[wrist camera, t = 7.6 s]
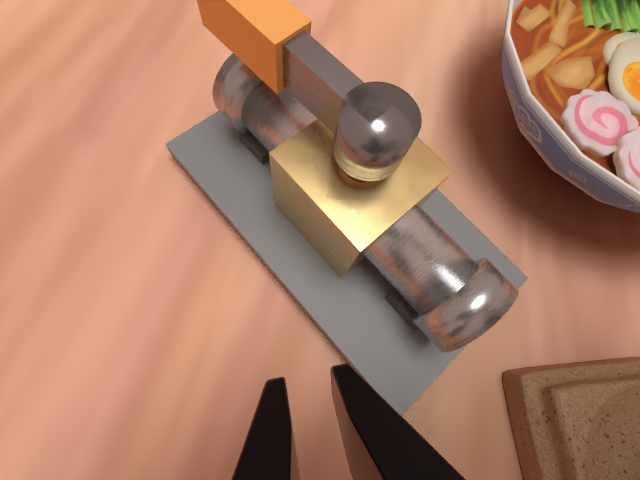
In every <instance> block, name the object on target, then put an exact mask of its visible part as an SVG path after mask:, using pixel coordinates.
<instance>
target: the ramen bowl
mask: <svg viewBox="0 0 640 480" xmlns="http://www.w3.org/2000/svg"><path fill="white" fill-rule="evenodd" d="M502 76H503V80H504V84H505V88H506V91H507V94H508V97H509V100H510V103H511V106H512V109H513V113H514V116H515V119H516V122H517V125H518V128H519V131H520V132H521V133H522V134H523V135H524V137H525V138H526V139H527V140H528V142H529V143H530V144H531V145H532V146H533V148H534V149H535V150H536V151H537V153H538V154H539V155H540V156H541V158H542V159H543V160H544V161H545V162H546V164H547V165H548V166H549V167H550V169H551V170H553V171H554V172H556V173H557V174H559V175H560V176H561V177H563V178H564V179H566V180H567V181H569V182H570V183H572V184H573V185H575V186H576V187H578V188H579V189H581V190H582V191H584V192H585V193H586V194H588V195H589V196H591V197H592V198H594V199H595V200H597V201H600V202H603V203H605V204H608V205H611V206H614V207H618V208H621V209H625V210H628V211H632V212H635V213H639V214H640V0H509V3H508V9H507V17H506V25H505V33H504V41H503V49H502Z"/></svg>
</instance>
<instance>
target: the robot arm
mask: <svg viewBox="0 0 640 480" xmlns="http://www.w3.org/2000/svg"><path fill="white" fill-rule="evenodd" d="M331 385H332V396H333V401H334V405H335V410H336V414H337V418H338V422H339V427H340V431H341V435H342V440H343V444H344V448H345V452H346V457H347V460H348V464H349V468H350V471H351V474H352V478H353V480H466V479H465V478H464V477H463V476H462V475H461V474H460V473H459V472H457V471H456V470H455V469H454V468H453V467H452V466H451V465H450V464H449V463H448V462H447V461H446V460H445V459H444V458H443V457H442V456H441V455H440V454H439V453H438V452H437V451H436V450H435V449H434V448H433V447H432V446H431V445H430V444H429V443H428V442H427V441H426V440H425V439H424V438H423V437H422V436H421V435H420V434H419V433H418V432H417V431H416V430H415V429H414V428H413V427H412V426H411V425H410V424H409V423H408V422H407V421H406V420H405V419H404V418H403V417H402V416H401V415H400V414H399V413H398V412H397V411H396V410H395V409H394V408H393V407H392V406H391V405H390V404H389V403H388V402H387V401H386V400H385V399H383V398H382V397H381V396H380V395H379V394H378V393H377V392H376V391H375V390H374V389H373V388H372V387H371V386H370V385H369V384H368V383H367V382H366V381H365V380H364V379H363V378H362V377H361V376H360V375H359V374H358V373H357V372H356V371H355V370H354V369H353V368H352V367H351V366H350V365H349V364H341V365H336V366H333V367H331ZM231 480H300V476H299V468H298V462H297V455H296V448H295V442H294V435H293V428H292V421H291V415H290V408H289V401H288V395H287V388H286V382H285V378H284V377H279V378H274V379H269V380H267V381H266V383H265V386H264V388H263V391H262V394H261V397H260V400H259V403H258V405H257V408H256V411H255V414H254V417H253V420H252V422H251V425H250V428H249V431H248V434H247V437H246V440H245V442H244V445H243V448H242V451H241V454H240V457H239V459H238V462H237V465H236V468H235V471H234V474H233V476H232V479H231Z"/></svg>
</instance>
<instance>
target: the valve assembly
mask: <svg viewBox="0 0 640 480" xmlns="http://www.w3.org/2000/svg"><path fill="white" fill-rule="evenodd" d="M213 100H214V103H215V105H216V107H217V108H218V109H219V111H218V112H216V113H215V114H213V115H211V116H210V117H208V118H207V119H205V120H203V121H202V122H200V123H199V124H197V125H195V126H194V127H192V128H191V129H189V130H187V131H186V132H184V133H182V134H181V135H179V136H178V137H176V138H174V139H173V140H171V141H170V142H168V143H166V146H167V148H168V149H169V151H170V153H171V154H172V156H173V157H174V159H175V160H176V161H177V162H178V163H179V164H180V166H181V167H182V168H183V169H184V170H185V171H186V173H187V174H188V175H189V176H190V177H191V179H192V180H193V181H194V182H195V183H196V184H197V186H198V187H199V188H200V189H201V190H202V191H203V193H204V194H205V195H206V196H207V197H208V199H209V200H210V201H211V202H212V203H213V204H214V206H215V207H216V208H217V209H218V210H219V211H220V213H221V214H222V215H223V216H224V217H225V219H226V220H227V221H228V222H229V223H230V224H231V226H232V227H233V228H234V229H235V230H236V231H237V233H238V234H239V235H240V236H241V237H242V239H243V240H244V241H245V242H246V243H247V244H248V246H249V247H250V248H251V249H252V250H253V251H254V253H255V254H256V255H257V256H258V257H259V259H260V260H261V261H262V262H263V263H264V264H265V266H266V267H267V268H268V269H269V270H270V271H271V273H272V274H273V275H274V276H275V277H276V279H277V280H278V281H279V282H280V283H281V284H282V286H283V287H284V288H285V289H286V290H287V291H288V293H289V294H290V295H291V296H292V297H293V299H294V300H295V301H296V302H297V303H298V304H299V306H300V307H301V308H302V309H303V310H304V311H305V313H306V314H307V315H308V316H309V317H310V319H311V320H312V321H313V322H314V323H315V324H316V326H317V327H318V328H319V329H320V330H321V331H322V333H323V334H324V335H325V336H326V337H327V339H328V340H329V341H330V342H331V343H332V344H333V346H334V347H335V348H336V349H337V350H338V351H339V353H340V354H341V355H342V356H343V357H344V359H345V360H346V361H347V362H348V363H349V364H350V366H351V367H352V368H353V369H354V370H355V371H356V372H357V373H358V374H359V375H360V376H361V377H362V378H363V379H364V380H365V381H366V382H367V383H368V384H369V385H370V386H371V387H372V388H373V389H374V390H375V391H376V392H377V393H378V394H379V395H380V396H381V397H382V398H383V399H385V400H386V401H387V402H388V403H389V404H390V405H391V406H392V407H393V408H394V409H395V410H396V411H397V412H398V413H399V414H400V415H401V416H402V415H403V414H404V413H405V412H406V411H407V410H408V409H409V408H410V406H411V405H412V404H413V403H414V402H415V401H416V400H417V399H418V398H419V397H420V396H421V394H422V393H423V392H424V391H425V390H426V389H427V388H428V387H429V386H430V385H431V384H432V382H433V381H434V380H435V379H436V378H437V377H438V376H439V375H440V374H441V373H442V372H443V371H444V369H445V368H446V367H447V366H448V365H449V364H450V363H451V362H452V361H453V360H454V359H455V357H456V356H457V355H458V354H459V353H460V352H461V351H462V350H463V349H464V348H465V347H466V345H467V344H469V343H470V342H472V341H473V340H475V339H476V338H478V337H479V336H481V335H482V334H483V333H485V332H486V331H487V330H488V329H490V328H491V327H492V326H493V325H494V324H495V323H496V322H497V321H498V320H500V319H501V317H502V316H503V315H504V314H505V313H506V312H507V311H508V310H509V308H510V307H511V306H512V304H513V303H514V301H515V299H516V297H517V294H518V289H519V288H520V287H521V286H522V284H523V283H524V282H525V281H526V280H527V279H528V277H527V276H526V275H525V274H524V273H523V272H521V271H520V270H519V269H518V268H517V267H516V266H515V265H514V264H513V263H512V262H511V261H510V260H509V259H508V258H507V257H506V256H505V255H504V254H503V253H502V252H501V251H500V250H499V249H498V248H497V247H496V246H495V245H494V244H493V243H492V242H491V241H490V240H489V239H488V238H487V237H486V236H485V235H484V234H483V233H482V232H481V231H480V230H479V229H478V228H477V227H476V226H475V225H474V224H472V223H471V222H470V221H469V220H468V219H467V218H466V217H465V216H464V215H463V214H462V213H461V212H460V211H459V210H458V209H457V208H456V207H455V206H454V205H453V204H452V203H451V202H450V201H449V200H448V199H447V198H446V197H445V196H444V195H443V194H442V193H441V192H440V191H439V190H438V188H439V187H440V186H441V184H442V183H443V182H444V181H445V180H446V179H447V178H448V177H449V176H450V175H451V174H452V172H453V170H452V169H451V168H450V167H449V166H448V165H447V164H446V163H445V162H443V161H442V160H441V159H440V158H439V157H438V156H437V155H436V154H435V153H434V152H433V151H432V150H431V149H430V148H429V147H428V146H427V145H426V144H425V143H424V142H423V141H422V140H420V139H419V138H418V137H416V139H415V140H414V142H413V144H412V145H411V147H410V149H409V150H408V152H407V154H406V155H405V157H404V159H403V160H402V162H401V164H400V165H399V167H398V168H397V170H396V171H395V172H394V173H393V174H392V175H390V176H389V177H387V178H385V179H382V180H378V181H363V180H359V179H356V178H354V177H352V176H350V175H349V174H347V173H346V172H345V171H343V170H342V169H341V167H340V166H339V165H338V163H337V162H336V160H335V157H334V154H333V141H334V136H335V135H334V134H333V133H332V132H331V131H330V130H329V129H328V128H327V127H326V126H325V125H324V124H323V123H322V122H320V121H319V120H318V119H317V118H316V117H315V116H314V115H313V114H312V113H311V112H310V111H309V110H308V109H307V108H305V107H304V106H303V105H302V104H301V103H300V102H299V101H298V100H297V99H296V98H295V97H294V96H293V95H292V94H290V93H289V92H288V91H287V90H286V89H284V90H283V91H281V92H280V93H278V94H276V93H275V92H274V91H273V90H272V89H271V88H270V87H269V86H268V85H267V84H266V83H265V82H264V81H262V80H261V79H260V78H259V77H258V76H257V75H256V74H255V73H254V72H253V71H252V70H251V69H250V68H249V67H248V66H247V65H245V64H244V63H243V62H242V61H241V60H240V59H239V58H238V57H237V56H236V55H235V54H234V53H233V54H232V55H231V56H230V57H229V58H228V59H227V60H226V61H225V62H224V64H223V65H222V67H221V68H220V70H219V72H218V74H217V76H216V79H215V82H214V86H213Z"/></svg>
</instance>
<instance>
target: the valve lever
mask: <svg viewBox="0 0 640 480" xmlns="http://www.w3.org/2000/svg"><path fill="white" fill-rule="evenodd" d="M197 3H198V6H199V10H200V14H201V18H202V22H203V25H204V26H205V27H206V28H207V29H208V30H209V31H210V32H212V33H213V34H214V35H215V36H216V37H217V38H218V39H219V40H220V41H221V42H222V43H223V44H224V45H225V46H226V47H227V48H229V49H230V50H231V51H232V52H233V53H234V54H235V55H236V56H237V57H238V58H239V59H240V60H241V61H242V62H243V63H244V64H245V65H247V66H248V67H249V68H250V69H251V70H252V71H253V72H254V73H255V74H256V75H257V76H258V77H259V78H260V79H261V80H262V81H264V82H265V83H266V84H267V85H268V86H269V87H270V88H271V89H272V90H273V91H274V92H275V93H276V94H278V93H280V92H281V91H283V90H284V89H286V90H287V91H288V92H289V93H290V94H292V95H293V96H294V97H295V98H296V99H297V100H298V101H299V102H300V103H301V104H302V105H303V106H304V107H305V108H307V109H308V110H309V111H310V112H311V113H312V114H313V115H314V116H315V117H316V118H317V119H318V120H319V121H320V122H322V123H323V124H324V125H325V126H326V127H327V128H328V129H329V130H330V131H331V132H332V133H333V134H334V135H335V136H334V141H333V154H334V157H335V160H336V162H337V163H338V165H339V166H340V167H341V169H342V170H343V171H345V172H346V173H347V174H349V175H350V176H352V177H354V178H356V179H359V180H363V181H378V180H382V179H385V178H387V177H389V176H390V175H392V174H393V173H394V172H395V171H396V170H397V168H398V167H399V165H400V164H401V162H402V160H403V159H404V157H405V155H406V154H407V152H408V150H409V149H410V147H411V145H412V144H413V142H414V140H415V139H416V137H417V135H418V133H419V131H420V128H421V113H420V110H419V107H418V105H417V104H416V102H415V101H414V99H413V98H412V97H411V96H410V95H409V94H408V93H407V92H405V91H404V90H403V89H401V88H399V87H397V86H395V85H392V84H389V83H385V82H367V83H364V82H363V81H361V80H360V79H359V78H358V77H357V76H356V75H355V74H354V73H352V72H351V71H350V70H349V69H348V68H347V67H346V66H344V65H343V64H342V63H341V62H340V61H339V60H338V59H336V58H335V57H334V56H333V55H332V54H331V53H330V52H329V51H327V50H326V49H325V48H324V47H323V46H322V45H321V44H319V43H318V42H317V41H316V40H315V39H314V38H313V37H311V36H310V33H311V20H310V19H308V18H307V17H306V16H305V15H304V14H303V13H301V12H300V11H299V10H298V9H297V8H296V7H295V6H293V5H292V4H291V3H290V2H289V1H288V0H197Z"/></svg>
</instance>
